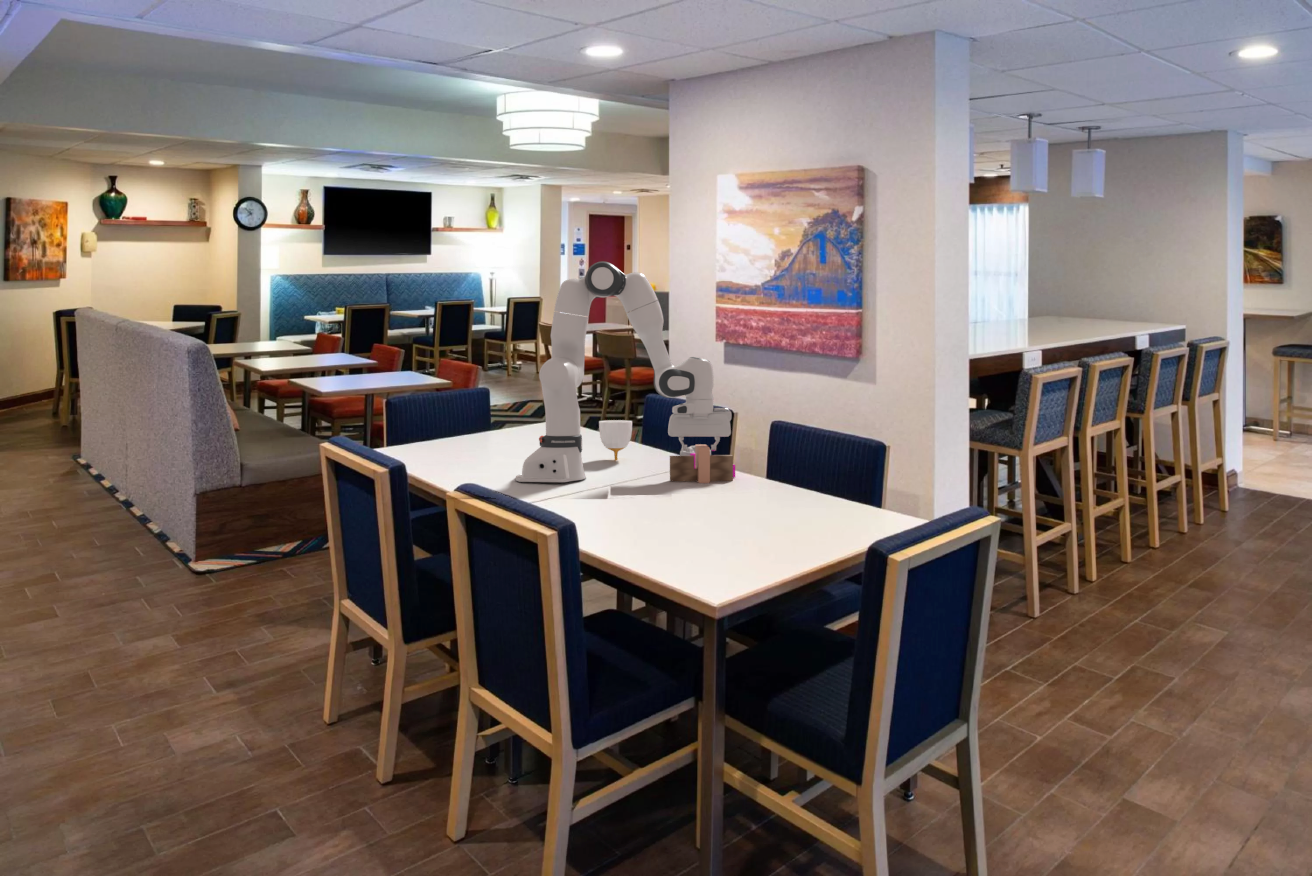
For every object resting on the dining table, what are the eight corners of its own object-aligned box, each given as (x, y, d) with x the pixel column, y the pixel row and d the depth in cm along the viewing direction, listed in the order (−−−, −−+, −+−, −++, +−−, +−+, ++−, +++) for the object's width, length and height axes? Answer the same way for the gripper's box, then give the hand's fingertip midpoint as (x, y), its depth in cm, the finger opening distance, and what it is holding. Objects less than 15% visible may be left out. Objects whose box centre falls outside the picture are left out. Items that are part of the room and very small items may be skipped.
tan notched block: (698, 482, 305) (698, 448, 304) (695, 478, 317) (695, 444, 316) (709, 482, 305) (709, 447, 304) (706, 478, 317) (706, 444, 316)
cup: (613, 466, 350) (612, 419, 349) (639, 468, 343) (638, 420, 342) (592, 470, 341) (592, 421, 339) (619, 472, 334) (618, 422, 332)
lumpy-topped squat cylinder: (712, 469, 341) (712, 444, 341) (707, 473, 329) (707, 448, 328) (683, 468, 343) (683, 444, 343) (677, 473, 331) (676, 448, 330)
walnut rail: (670, 481, 309) (670, 456, 308) (669, 480, 311) (669, 455, 310) (732, 480, 310) (732, 455, 309) (731, 479, 312) (731, 455, 311)
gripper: (730, 407, 316) (729, 449, 317) (667, 407, 315) (667, 449, 316) (732, 408, 310) (732, 451, 311) (669, 408, 309) (668, 451, 310)
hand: (699, 450), depth 314 cm, fingers open, 8 cm apart
